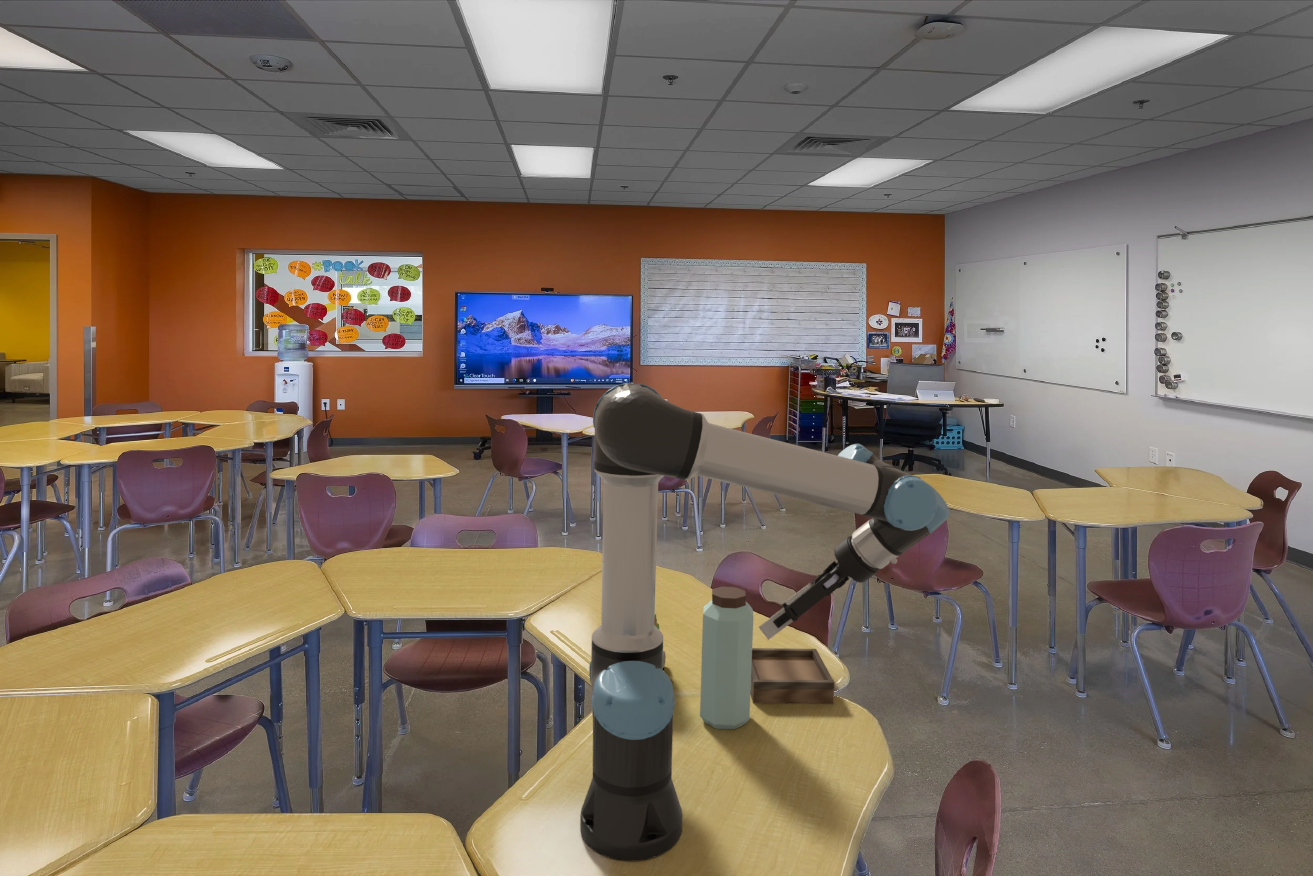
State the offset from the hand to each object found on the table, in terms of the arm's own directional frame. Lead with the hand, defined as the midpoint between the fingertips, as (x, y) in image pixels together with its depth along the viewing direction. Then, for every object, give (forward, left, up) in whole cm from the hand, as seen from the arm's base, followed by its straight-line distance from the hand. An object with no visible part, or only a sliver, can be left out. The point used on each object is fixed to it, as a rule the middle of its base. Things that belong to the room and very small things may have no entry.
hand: (776, 620), depth 139 cm
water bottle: (-9, +1, -22) cm, 24 cm away
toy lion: (-28, +12, -22) cm, 37 cm away
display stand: (0, +19, -21) cm, 29 cm away
